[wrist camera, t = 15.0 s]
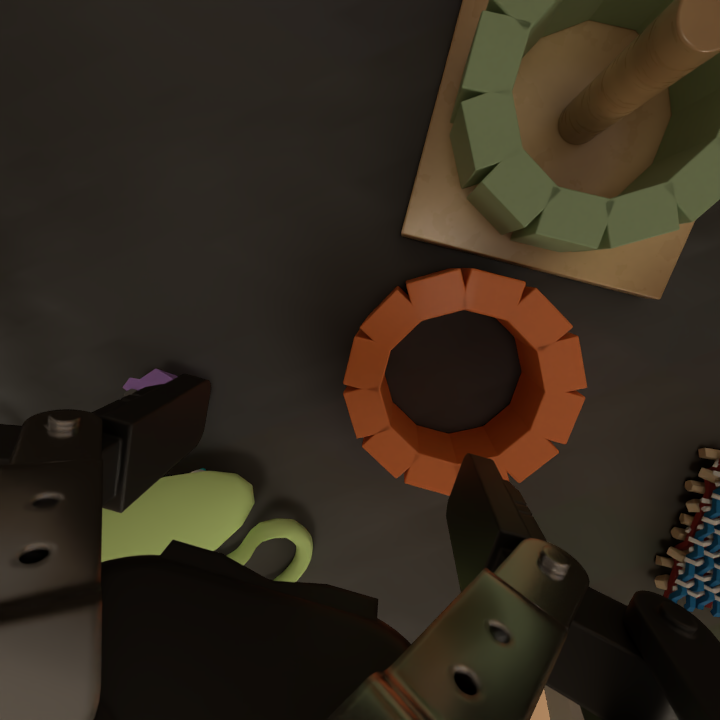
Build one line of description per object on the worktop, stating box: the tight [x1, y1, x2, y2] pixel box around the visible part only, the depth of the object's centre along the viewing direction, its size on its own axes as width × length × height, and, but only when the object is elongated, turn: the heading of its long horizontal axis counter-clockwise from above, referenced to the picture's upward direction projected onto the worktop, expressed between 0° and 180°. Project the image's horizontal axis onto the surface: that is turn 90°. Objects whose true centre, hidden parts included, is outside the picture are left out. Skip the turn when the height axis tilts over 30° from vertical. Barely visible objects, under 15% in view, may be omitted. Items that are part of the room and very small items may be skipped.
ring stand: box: [401, 0, 720, 299], centre depth 15 cm, size 14×14×10 cm
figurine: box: [101, 369, 313, 582], centre depth 26 cm, size 18×27×6 cm
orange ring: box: [343, 268, 587, 496], centre depth 22 cm, size 12×12×4 cm
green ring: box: [450, 0, 720, 252], centre depth 17 cm, size 12×12×4 cm
